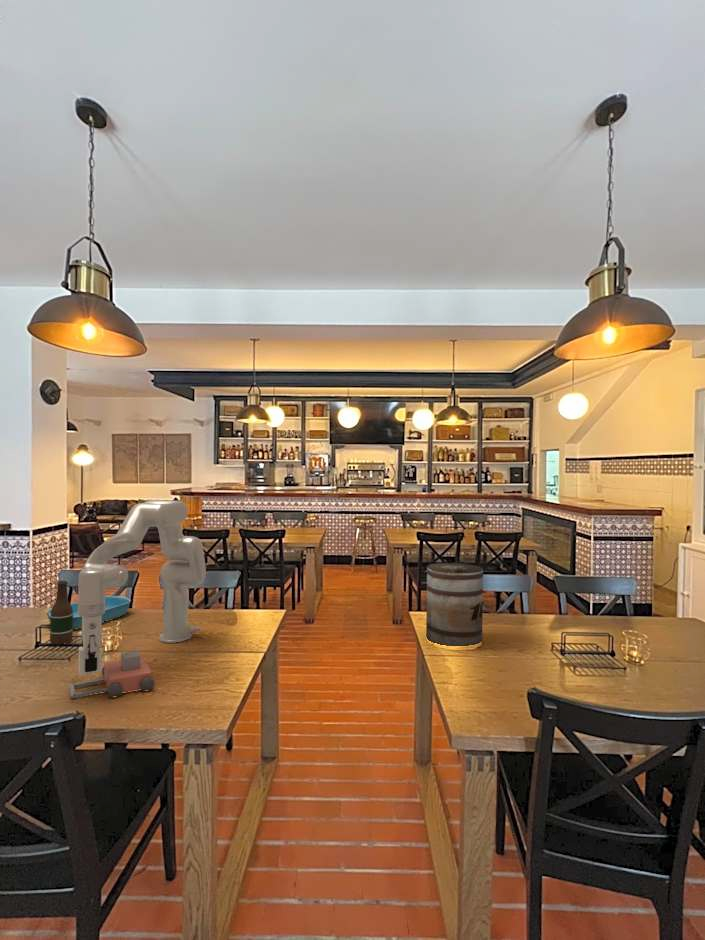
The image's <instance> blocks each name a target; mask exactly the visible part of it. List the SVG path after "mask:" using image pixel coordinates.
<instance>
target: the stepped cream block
mask: <svg viewBox="0 0 705 940" xmlns="http://www.w3.org/2000/svg"><path fill="white" fill-rule="evenodd" d="M88 648H90V646H88ZM89 652H90V650H88V653H89ZM102 657H103V651H102V647H101V648H99V647H97V670H96V671H92V672H85V659H86V649H84V646H79V647H78V675H79V676H82V675H89V674H90V675H91V674H95V673H102V668H103V667H102V661H103V658H102Z"/></svg>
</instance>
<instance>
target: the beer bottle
mask: <svg viewBox="0 0 705 940" xmlns="http://www.w3.org/2000/svg"><path fill="white" fill-rule="evenodd" d="M56 585H57V588H56V599H55V602H54V604H53V605H52V607H51V608H50V609H51V614H50V621H49V641H50V642H51V643H52V644H64V643H68V642H70V641H71V642H72V641H73V636H74V635H73V631H74V630H73V609H72V606H71V603H70V601H69V599H68V598H69V597H68V581H67V580H59V581H57V582H56ZM50 642H49V643H50ZM71 642H70V643H71ZM51 643H50V644H51ZM52 644H51V645H52ZM68 644H69V643H68ZM64 645H65V644H64Z"/></svg>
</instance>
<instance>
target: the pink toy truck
mask: <svg viewBox="0 0 705 940" xmlns="http://www.w3.org/2000/svg"><path fill="white" fill-rule="evenodd" d="M120 654H121V658H120V660H118V659H117V660H114V661H113V660H112V661H107V662H104V663H103V667H102V669H101V673H102V675H103V678H99V679H94V680H93V679H92V680H87V681H82V682H75V683H70V684H68V686H69V687H68V688H69V689H70V690H69V696H70V698H76V697H81V696H86V695H90V694H95V693H100V692H105V691H107V694H108V697H109V696H110V697H109V698H112V697H113V696H118V695H120V696H121V695H123V694H122V692H128V691H133V690H139V689H141V690H142V692H145V690H150V691H151V690H153V688H154V686H155V680H153V678H152V675H153V673H152V671H151V668H150V666H149V665H148V663H147V661H146V659H145V657H144V656H141V653H140V652H139V650H134V651H129V652H128V651H127V652H122V653H120ZM104 682H106V683H104ZM99 683H104V684H105V686H107V687H105V686H104V687H101V688H94V689H90V690H84V691H79V692H76V689H79V688H78V687H82V688H85V687H84V686H87V687H90V686H89V685H93V684H98V685H100V684H99ZM93 686H94V685H93ZM74 688H76V689H74ZM107 689H108V690H107ZM86 697H87V696H86ZM118 697H119V696H118ZM81 698H82V697H81ZM76 699H77V698H76Z"/></svg>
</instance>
